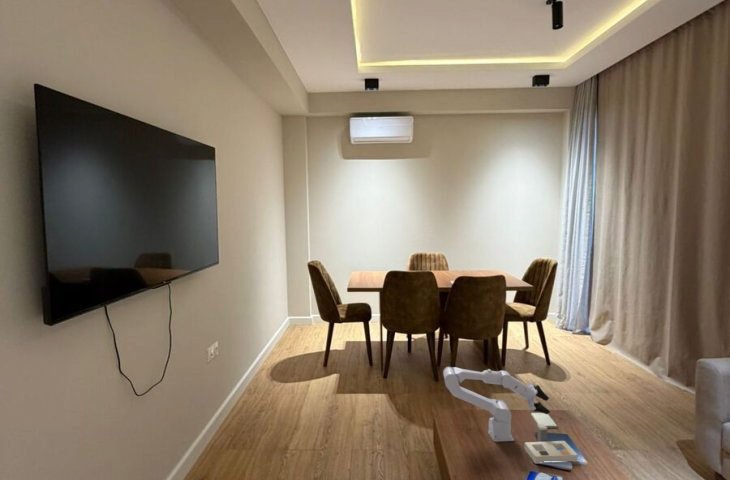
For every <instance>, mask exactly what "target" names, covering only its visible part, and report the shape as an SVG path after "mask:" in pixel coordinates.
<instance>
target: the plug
mask: <svg viewBox="0 0 730 480" xmlns="http://www.w3.org/2000/svg"><path fill="white" fill-rule="evenodd" d="M536 429H537V431H536V432H537V435H536V436H537V441H536V442H548V428H547V427H546V426H545V425H544V424H537V428H536Z"/></svg>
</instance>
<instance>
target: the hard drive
mask: <svg viewBox="0 0 730 480" xmlns="http://www.w3.org/2000/svg"><path fill="white" fill-rule="evenodd" d="M531 416H532V418H533V419H534V421H535V422H536V423H537V424H544V425H545V426H546V427H547V429H558V428H559V427H558V425H557V424H556V422H555V421H554V420H553V418H551V417H552V416H550V415H549V413H548V414H544V413H541V412H531Z"/></svg>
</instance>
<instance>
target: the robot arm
mask: <svg viewBox="0 0 730 480" xmlns="http://www.w3.org/2000/svg"><path fill="white" fill-rule="evenodd" d="M442 376H443V379H444V385H445V387H446V388H447V390H448V391H449V392H450V394H451V395H452V396H454V397H455V398H458V399H460V400H462V401H464V402H467V403H468V404H469V403H470V404H471V405H474V406H476V407H478V408H481V409H483V410H485V411H487V412H489V413H490V414H491V415H492V417H489V419H488V432H487V433H488V435H489V436H490V438H491V439H492V441H493V442H514V441H515V439H514V437H513V436H512V434H511V432H512V430H511V420H512V417H513V416H512V412H511V411H510V408H509V407H508V404H507V402H505V400H502V399H495V398H492V399H491V398H488V397H486V396H483V395H481V394H478V392H477V393H476V392H474V391H472V390H470V389H467V388H465V387H462V386H460V384H461V383H462V382H464V381H465V380H478V381H479V380H481V381H483V383H485V384H492V385H501V386H502V387H503V388H505V389H510V391H512V392H514V393H515V394H517V395H518V396H520V398H522V399H525V400H526V401H527V404H528V407H529V410H530V411H531V412H534V413H544V414H548V415H549V414H551V413H550V412H551V411H550V410H549V409H548V408H547V407H546V406H544V405H543V404H542V403H541V401H538V402H536V397H538V398H539V399H541V400H543V401H548V400H549V399H550V397H549V396H548V395H547V394H546V393H545V392H544V391H543V390H542V389H541V387H540V385H538V384H536V383H534V382H532V381H531V382H530V383H529V384H528V385H527V384H525V383H523V382H522V381H520V380H519V379H518V378H515V377H514V376H512V375H511V374H510V373H509V372H508V371H507V370H504V369H502V370H499V371H495V370H491V369H490V368H487V369H485V370H483V371H476V370H471V369H464V368H460V367H456V366H455V367H454V366H453V367H452V366H446V367H445V368H444V369H443V371H442Z"/></svg>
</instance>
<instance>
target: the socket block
mask: <svg viewBox="0 0 730 480" xmlns="http://www.w3.org/2000/svg"><path fill="white" fill-rule="evenodd" d="M558 448H562V449H563V450H557V449H558ZM524 450H525V451H526V454H528V455H529V458H531V460H532V461H533V462H534V464H541V463H540V462H544V461H577V460H578V459H579V457H578V453H577V452H576V451H575V450H574V449H573V448H572V447H571V446H570V445H569V444H568V443H567V442H566V440H556V441H555V440H554V441H553V440H551V441H550V440H549V441H548V440H547V442H538V441H528V442H527V441H526V442H524Z"/></svg>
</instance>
